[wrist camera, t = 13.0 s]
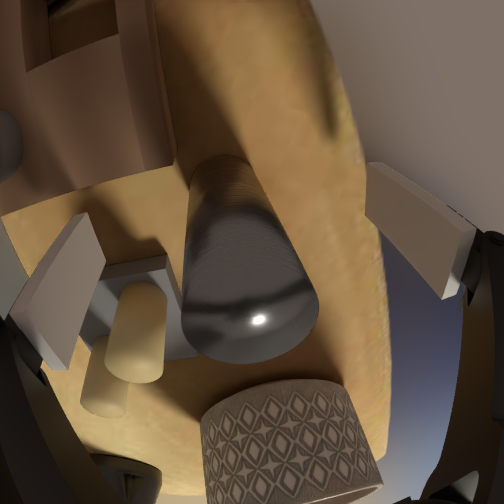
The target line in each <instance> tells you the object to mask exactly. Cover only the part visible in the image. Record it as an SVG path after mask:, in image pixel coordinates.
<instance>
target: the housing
mask: <svg viewBox="0 0 504 504" xmlns="http://www.w3.org/2000/svg"><path fill="white" fill-rule="evenodd" d="M28 280H29V278H28V276H27V274H26V272H25V270H24V268H23V266H22V264H21V262H20V260H19V258H18V256H17V254H16V252H15V250H14V248H13V246H12V244H11V241H10V239H9V237H8V235H7V233H6V230H5V228H4V226H3V223H2V221H1V218H0V315H1V317H2V318H3V320H5V318H6V316H7V314H8V313H9V311H10V309H11V307H12V305H13V304H14V302H15V300H17V297H18V295H19V293H21V290H22V288H23V287H24V285H25V283H26V282H27V281H28Z"/></svg>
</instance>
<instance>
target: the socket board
mask: <svg viewBox="0 0 504 504" xmlns="http://www.w3.org/2000/svg"><path fill="white" fill-rule="evenodd" d="M47 1H49V0H0V217H1V216H3V215H6V214H9V213H11V212H14V211H16V210H19V209H22V208H24V207H27V206H30V205H33V204H36V203H38V202H41V201H44V200H47V199H50V198H53V197H56V196H59V195H62V194H65V193H69V192H72V191H75V190H78V189H82V188H85V187H88V186H92V185H95V184H99V183H102V182H106V181H110V180H113V179H117V178H121V177H125V176H129V175H133V174H137V173H141V172H145V171H149V170H153V169H158V168H162V167H167V166H171V165H173V162H174V159H175V156H176V154H177V151H178V148H177V143H176V138H175V132H174V127H173V122H172V117H171V111H170V106H169V100H168V95H167V89H166V83H165V77H164V71H163V65H162V58H161V52H160V45H159V38H158V31H157V24H156V16H155V9H154V0H115V7H116V16H117V25H118V33H119V34H116V35H113V36H110V37H107V38H104V39H102V40H99V41H96V42H93V43H91V44H88V45H85V46H83V47H80V48H78V49H75V50H73V51H71V52H68V53H66V54H64V55H61V56H59V57H57V58H55V59H52V52H51V44H50V34H49V23H48V7H47Z"/></svg>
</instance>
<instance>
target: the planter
mask: <svg viewBox="0 0 504 504" xmlns="http://www.w3.org/2000/svg"><path fill="white" fill-rule="evenodd" d="M200 433H201V445H202V457H203V468H204V478H205V487H206V496H207V504H349V503H352V502H355V501H357V500H359V499H361V498H364V497H366V496H368V495H370V494H372V493H374V492H376V491H377V490H379V489H380V488H382V487H383V485H384V483H383V481H382V478H381V476H380V473H379V470H378V467H377V465H376V462H375V460H374V457H373V454H372V452H371V449H370V447H369V444H368V441H367V439H366V436H365V434H364V431H363V429H362V426H361V424H360V421H359V419H358V416H357V414H356V411H355V409H354V406H353V404H352V401H351V399H350V396H349V394H348V392H347V390H346V389H345V388H344V387H343V386H341V385H339V384H337V383H335V382H331V381H327V380H318V379H285V380H278V381H272V382H267V383H263V384H259V385H256V386H252V387H250V388H247V389H244V390H242V391H240V392H238V393H235V394H234V395H232V396H230V397H228V398H226V399H224V400H222V401H220V402H218V403H217V404H215V405H214V406H212V407H211V408H210V409H209V410H207V412H206V413H205V414H204V415H203V417H202V419H201V421H200Z"/></svg>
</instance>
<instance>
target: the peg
mask: <svg viewBox="0 0 504 504" xmlns="http://www.w3.org/2000/svg"><path fill="white" fill-rule="evenodd" d="M318 312H319V301H318V297H317V294H316V292H315V289H314V287H313V285H312V283H311V281H310V279H309V277H308V275H307V273H306V271H305V269H304V267H303V265H302V263H301V261H300V259H299V257H298V255H297V253H296V251H295V249H294V247H293V245H292V243H291V241H290V239H289V238H288V236H287V234H286V232H285V230H284V228H283V226H282V224H281V222H280V220H279V218H278V216H277V214H276V212H275V211H274V209H273V207H272V205H271V203H270V201H269V199H268V197H267V195H266V193H265V192H264V190H263V188H262V186H261V184H260V182H259V180H258V179H257V177H256V175H255V173H254V171H253V169H252V168H251V167H250V165H249V164H248V163H247V162H245V161H244V160H242V159H241V158H239V157H236V156H233V155H217V156H213V157H210V158H208V159H207V160H205V161H204V162H202V163H201V164H200V165H199V166H198V167H197V168H196V170H195V171H194V173H193V176H192V178H191V183H190V192H189V202H188V213H187V224H186V236H185V250H184V264H183V281H182V302H181V328H182V331H183V334H184V336H185V338H186V340H187V341H188V342H189V344H190V345H191V346H192V347H193V348H194V349H195V350H197V351H198V352H199V353H201V354H202V355H204V356H206V357H208V358H211V359H213V360H216V361H220V362H224V363H231V364H251V363H258V362H262V361H267V360H270V359H273V358H275V357H278V356H280V355H282V354H284V353H286V352H288V351H290V350H291V349H293V348H294V347H295V346H297V345H298V344H299V343H300V342H302V341H303V340H304V339H305V338H306V336H307V335H308V334H309V333H310V331H311V330H312V328H313V327H314V324H315V322H316V320H317V317H318Z"/></svg>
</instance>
